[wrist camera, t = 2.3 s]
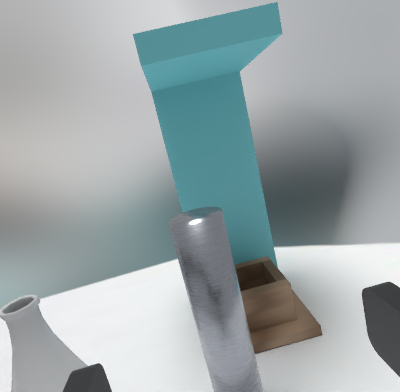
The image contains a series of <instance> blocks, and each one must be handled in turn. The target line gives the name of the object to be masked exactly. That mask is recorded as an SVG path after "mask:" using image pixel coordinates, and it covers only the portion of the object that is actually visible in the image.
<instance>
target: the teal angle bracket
mask: <svg viewBox="0 0 400 392" xmlns="http://www.w3.org/2000/svg"><path fill="white" fill-rule="evenodd" d="M281 34H282V28H281V22H280V16H279V10H278V3H277V2H276V3H271V4H267V5H262V6H258V7H253V8H249V9H244V10H240V11H236V12H231V13H226V14H222V15H217V16H213V17H208V18H204V19H199V20H195V21H190V22H186V23H181V24H177V25H172V26H168V27H164V28H159V29H154V30H150V31H145V32H141V33H137V34H133V36H134V40H135V44H136V48H137V52H138V55H139V59H140V63H141V66H142V69H143V71H144V74H145V77H146V79H147V82H148V84H149V87H150V89H151V92H152V96H153V99H154V104H155V107H156V111H157V115H158V119H159V123H160V127H161V131H162V135H163V139H164V142H165V146H166V150H167V154H168V158H169V162H170V166H171V169H172V173H173V177H174V181H175V185H176V189H177V192H178V197H179V201H180V204H181V208H182V212H186V211H189V210H193V209H197V208H203V207H219V208H221V209H222V212H223V217H224V221H225V225H226V230H227V234H228V239H229V243H230V248H231V252H232V256H233V261H234V265H236V264H240V263H243V262H247V261H251V260H255V259H258V258H262V257H266V256H268V257H269V258H270V260H271V261H272V262H273V263H274V265H275V266H276V267H277V262H276V257H275V252H274V247H273V241H272V236H271V232H270V226H269V221H268V216H267V211H266V205H265V200H264V195H263V190H262V185H261V180H260V175H259V169H258V164H257V159H256V154H255V149H254V144H253V139H252V134H251V128H250V123H249V118H248V113H247V108H246V102H245V97H244V92H243V87H242V82H241V77H240V71H241V70H242V69H243V68H244V67H245V66H246V65H247V64H248V63H250V62H251V61H252V60H253V59H254V58H255V57H256V56H257V55H258V54H260V53H261V52H262V51H263V50H264V49H265V48H267V47H268V46H269V45H270V44H271V43H272V42H273V41H274V40H275V39H277V38H278V37H279V36H280V35H281ZM277 268H278V267H277Z"/></svg>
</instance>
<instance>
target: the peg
mask: <svg viewBox="0 0 400 392" xmlns="http://www.w3.org/2000/svg"><path fill="white" fill-rule="evenodd" d="M169 227H170V230H171V234H172V238H173V241H174V245H175V249H176V253H177V256H178V260H179V264H180V267H181V271H182V275H183V279H184V282H185V286H186V290H187V293H188V297H189V301H190V305H191V308H192V312H193V316H194V319H195V323H196V327H197V330H198V334H199V338H200V342H201V345H202V349H203V353H204V356H205V360H206V364H207V367H208V371H209V375H210V379H211V382H212V386H213V390H214V392H263V388H262V384H261V380H260V375H259V371H258V366H257V362H256V358H255V353H254V349H253V344H252V340H251V336H250V331H249V327H248V322H247V318H246V314H245V309H244V305H243V300H242V296H241V292H240V287H239V283H238V278H237V274H236V270H235V265H234V261H233V256H232V252H231V248H230V243H229V239H228V234H227V230H226V225H225V221H224V217H223V212H222V209H221V208H219V207H203V208H197V209H193V210H189V211H186V212H183V213H181V214H179V215H176V216H175V217H173V218H172V219H170V221H169Z"/></svg>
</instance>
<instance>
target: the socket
mask: <svg viewBox="0 0 400 392" xmlns="http://www.w3.org/2000/svg"><path fill="white" fill-rule="evenodd" d="M235 270H236V274H237V278H238V283H239V287H240V292H241V296H242V300H243V305H244V309H245V314H246V318H247V322H248V327H249V331H250V336H251V340H252V344H253V349H254V353H259V352H262V351H266V350H269V349H273V348H276V347H280V346H284V345H287V344H291V343H294V342H298V341H301V340H305V339H308V338H312V337H315V336H319V335H322V332H321V326H320V324H319V323H318V322H317V321H316V319H315V318H314V317H313V316H312V314H311V313H310V312H309V311H308V309H307V308H306V307H305V306H304V304H303V303H302V302H301V301H300V299H299V298H298V297H297V296H296V294H295V293H294V292H293V291H292V289H291V285H290V283H289V282H288V280H287V279H286V278H285V277H284V275H283V274H282V273H281V272H280V271H279V269H278V268H277V267H276V266H275V265H274V263H273V262H272V261H271V260H270V258H269V257H268V256H266V257H262V258H258V259H255V260H251V261H247V262H243V263H240V264H236V265H235Z"/></svg>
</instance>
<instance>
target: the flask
mask: <svg viewBox="0 0 400 392" xmlns="http://www.w3.org/2000/svg"><path fill="white" fill-rule="evenodd" d="M39 303H40V299H39V297H38V296H36V295H34V294H31V295H25V296H21V297H19V298H17V299H15V300H13V301H11V302H9V303H7V304H6V305H5V306H4V307H3V308H1V309H0V317H1V318H2V319H3V320H4V321H6V324H7V326H8V329H9V332H10V338H11V343H12V349H13V351H12V389H11V392H63V389H64V387H65V385H66V382H67V380H68V378H69V375H70V373H71V372H72V371H74V370H77V369H81V368H84V367H88V366H87V365H86V364H85V363H84V362H83V361H82V360H80V359H79V358H78V357H77V356H76V355H75V354H74V353H73V352H72V351H71V350H70V349H69V348H68V347H67V346H66V345H65V344H64V343H63V342H62V341H61V340H60V339H59V338H58V337H57V336H56V335H55V334H54V333H53V332H52V330H51V329H50V327H49V326H48V324H47V323H46V321H45V320H44V318H43V317H42V314H41V312H40V309H39V306H38V304H39Z"/></svg>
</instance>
